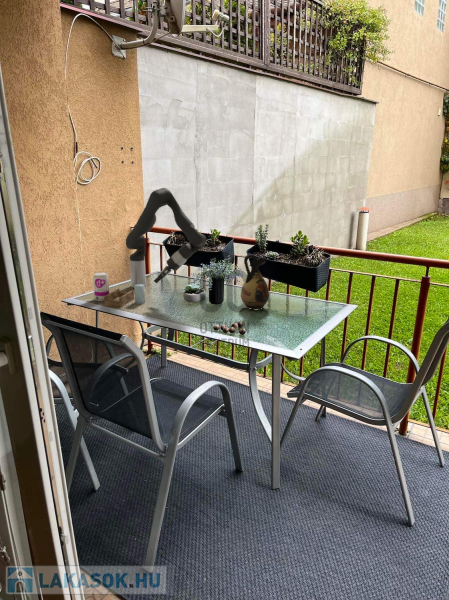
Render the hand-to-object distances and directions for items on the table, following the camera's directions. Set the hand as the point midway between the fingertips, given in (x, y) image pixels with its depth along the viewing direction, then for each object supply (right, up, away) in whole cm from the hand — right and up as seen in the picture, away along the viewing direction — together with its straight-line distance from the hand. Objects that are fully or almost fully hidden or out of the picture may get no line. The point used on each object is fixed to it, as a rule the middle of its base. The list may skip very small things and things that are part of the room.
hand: (156, 280), depth 245 cm
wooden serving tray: (-22, -12, +4) cm, 25 cm away
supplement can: (-33, -11, +9) cm, 36 cm away
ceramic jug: (+53, -16, -2) cm, 55 cm away
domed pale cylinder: (-10, -12, +5) cm, 17 cm away
